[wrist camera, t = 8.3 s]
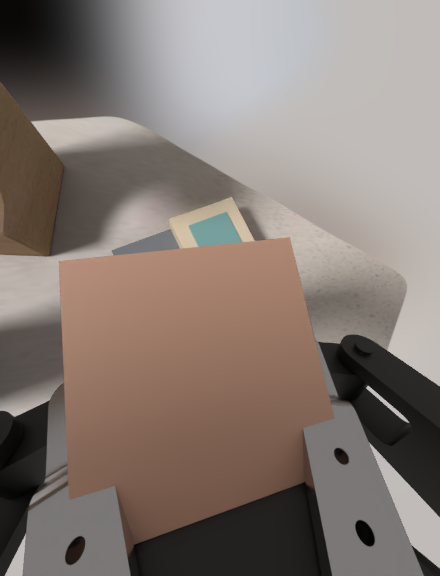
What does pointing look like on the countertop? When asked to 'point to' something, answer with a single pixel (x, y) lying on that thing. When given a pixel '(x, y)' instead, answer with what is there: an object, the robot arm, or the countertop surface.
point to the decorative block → (26, 183)
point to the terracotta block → (188, 379)
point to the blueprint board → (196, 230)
